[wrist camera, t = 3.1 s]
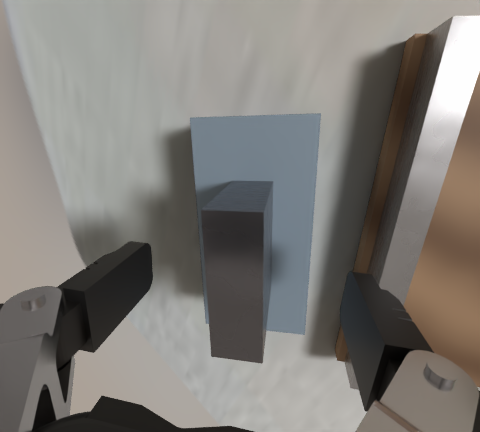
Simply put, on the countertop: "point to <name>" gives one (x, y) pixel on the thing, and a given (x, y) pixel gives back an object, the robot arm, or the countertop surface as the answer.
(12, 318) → the robot arm
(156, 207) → the countertop surface
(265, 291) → the blue block with handle
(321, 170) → the countertop surface
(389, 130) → the tray
